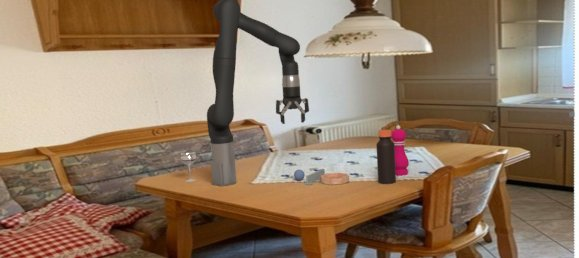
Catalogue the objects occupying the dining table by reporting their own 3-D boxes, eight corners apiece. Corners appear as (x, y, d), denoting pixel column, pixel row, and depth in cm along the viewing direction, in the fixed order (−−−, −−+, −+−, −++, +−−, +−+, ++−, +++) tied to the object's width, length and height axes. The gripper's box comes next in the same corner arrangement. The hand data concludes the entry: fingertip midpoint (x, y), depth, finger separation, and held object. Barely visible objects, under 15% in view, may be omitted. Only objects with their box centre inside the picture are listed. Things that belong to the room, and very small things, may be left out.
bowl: (337, 185, 218) (337, 179, 218) (315, 183, 225) (315, 177, 225) (354, 180, 226) (354, 174, 226) (332, 177, 234) (331, 171, 233)
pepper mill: (396, 171, 237) (394, 124, 235) (412, 172, 233) (410, 124, 230) (387, 175, 232) (385, 126, 229) (403, 176, 227) (401, 126, 225)
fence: (310, 184, 223) (310, 176, 223) (304, 184, 225) (303, 175, 224) (327, 177, 235) (326, 169, 234) (320, 177, 236) (320, 168, 236)
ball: (300, 181, 230) (299, 171, 229) (291, 180, 233) (291, 170, 232) (307, 179, 233) (306, 169, 232) (298, 178, 236) (298, 168, 235)
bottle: (396, 180, 222) (394, 129, 219) (395, 184, 215) (392, 131, 213) (379, 180, 223) (376, 129, 221) (377, 184, 217) (374, 132, 215)
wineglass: (189, 178, 251) (187, 151, 249) (201, 179, 247) (199, 152, 246) (179, 181, 245) (176, 154, 244) (191, 182, 242) (188, 154, 240)
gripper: (276, 87, 240) (278, 125, 242) (309, 85, 243) (311, 122, 245) (273, 86, 248) (275, 123, 250) (305, 84, 251) (306, 121, 253)
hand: (293, 123), depth 247 cm, fingers open, 8 cm apart
